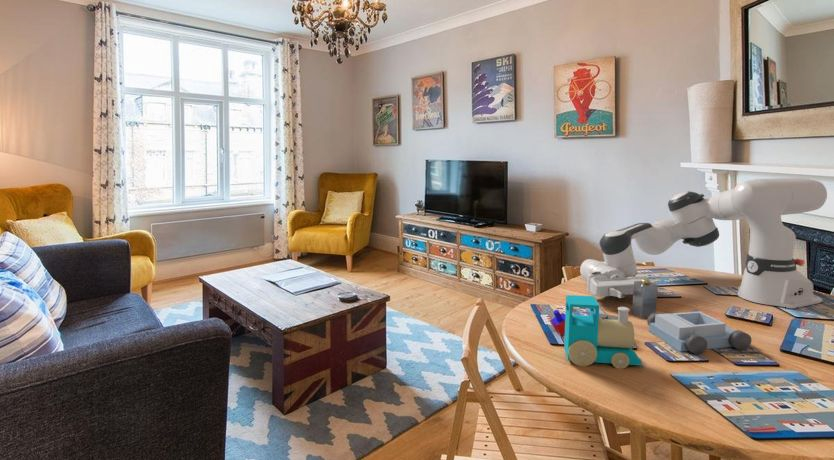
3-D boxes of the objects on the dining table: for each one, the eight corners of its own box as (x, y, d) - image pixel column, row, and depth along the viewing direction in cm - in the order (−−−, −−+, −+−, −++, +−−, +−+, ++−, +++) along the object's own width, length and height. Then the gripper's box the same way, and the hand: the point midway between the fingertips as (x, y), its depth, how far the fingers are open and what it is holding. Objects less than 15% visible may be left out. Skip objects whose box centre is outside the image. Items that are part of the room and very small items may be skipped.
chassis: (702, 323, 123) (704, 305, 121) (753, 349, 107) (755, 328, 106) (644, 328, 120) (645, 309, 119) (686, 355, 105) (688, 334, 104)
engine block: (645, 311, 132) (648, 277, 130) (655, 317, 128) (658, 281, 126) (632, 312, 132) (634, 278, 130) (641, 318, 127) (643, 282, 125)
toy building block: (557, 335, 121) (546, 312, 119) (570, 327, 122) (558, 304, 120) (563, 340, 118) (552, 317, 116) (576, 332, 118) (565, 309, 116)
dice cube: (594, 336, 116) (595, 319, 115) (597, 330, 120) (598, 313, 119) (614, 340, 114) (615, 322, 113) (617, 333, 118) (618, 316, 117)
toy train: (644, 370, 98) (648, 308, 96) (568, 365, 102) (570, 305, 99) (634, 354, 106) (638, 296, 103) (563, 350, 109) (565, 294, 106)
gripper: (639, 287, 147) (667, 301, 134) (582, 292, 145) (605, 306, 131) (640, 270, 146) (669, 282, 132) (583, 273, 143) (606, 286, 130)
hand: (636, 294), depth 132 cm, fingers open, 8 cm apart
